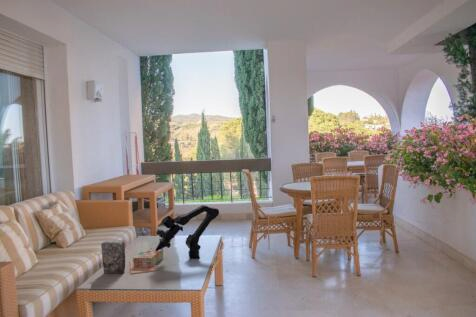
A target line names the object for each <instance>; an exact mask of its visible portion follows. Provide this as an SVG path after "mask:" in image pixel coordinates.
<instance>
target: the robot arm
mask: <svg viewBox="0 0 476 317" xmlns="http://www.w3.org/2000/svg"><path fill="white" fill-rule="evenodd" d="M204 212H205V213H206V214H205V217H204V219H203V220H202V222H201V223H200V224H199V226H198V227H197V228H196V230H195V231H194V232H193V233H192V234H189V235H188V237H186V238H185V245H186V246H187V248H188V258H189V259H190V260H194V259H201V257H200V250H201V245H200V244H199V243H200V242H199V241H200V238H201V236H202V234H203V233H204V232H205V231H206V229H207V227H208V226H209V225H210V223H211V222H212V221H213V220H215V219H216V218H217V217H218V216H219V215H220V210H219V209H218V208H215V207H212V206H211V207H210V206H207V205H204V204H201V205H200V206H198V207H196V208H195V209H193V210H191V211H189V212H187V213H185V214H184V213H183V214H180V215H178V216H176V217H175V218H172V217H171V215H169V214H168V215H167V216H165V217H164V218H163V219H162V220H161V224H162V226H164V227H165V228H166V229H167V230H163V229H161V228H157V229H156V232H155V234H156V235H157V236H159V239H158V241H159V242H158V244H157V246H156V247H155V248H156V249H155V248H154V249H155V250H156V251H158V250H160V249H164V248H168V249H170V247H171V241H172V240H173V239H175V237H176V236H177V234H178V233H179V232H184V229H183V228H184V227H183V226H185V225H187V224H188V223H189V222H190V221H191V220H192V219H194V218H196V217H198V216H199V215H201V214H203V213H204Z"/></svg>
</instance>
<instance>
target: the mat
mask: <svg viewBox="0 0 476 317" xmlns="http://www.w3.org/2000/svg"><path fill="white" fill-rule="evenodd" d="M129 262H130V263H129V267H130V269H129V270H130V275H135V274H143V273H149V272H150V273H151V272H157V271H158V267H157V263H156V264H155V265H154V266H153V267H151V268H147V267H134V265H133V259H132V260H130V261H129Z"/></svg>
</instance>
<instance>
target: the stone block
mask: <svg viewBox="0 0 476 317" xmlns="http://www.w3.org/2000/svg"><path fill="white" fill-rule="evenodd" d="M125 244H126V243H125V241H124V240H123V239H107V240H104V241H102V242H101V256H102V267H103V268H102V269H103V274H104V275H119V274H120V275H123V274H124V273H125V270H126V245H125Z"/></svg>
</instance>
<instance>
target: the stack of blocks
mask: <svg viewBox="0 0 476 317" xmlns="http://www.w3.org/2000/svg"><path fill="white" fill-rule="evenodd" d="M156 248H157V247H155V248H153V247H151V248H150V249H148V250H146V251H144V252H143V251H141V252H139V253H138V254H136V255H135V256H134V257H133V258H132V260H133V265H134V267H147V268H151V267H153V266H154V265H155V264H156V265H157V263H158V262H160V261H161V260H162V259H163V258H164V248H162V249H160V250H158V251H156V250H155V249H156Z"/></svg>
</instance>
